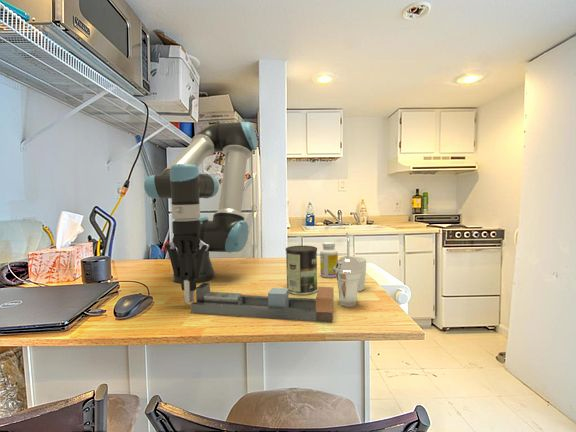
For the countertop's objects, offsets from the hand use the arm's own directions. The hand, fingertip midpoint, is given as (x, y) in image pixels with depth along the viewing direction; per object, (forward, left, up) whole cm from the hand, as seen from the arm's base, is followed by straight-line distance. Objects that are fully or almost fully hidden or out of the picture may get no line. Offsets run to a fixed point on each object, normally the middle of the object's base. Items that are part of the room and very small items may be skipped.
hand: (189, 301), depth 85 cm
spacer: (+26, 0, -2) cm, 26 cm away
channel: (+22, 0, -2) cm, 22 cm away
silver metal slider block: (+9, 0, -1) cm, 9 cm away
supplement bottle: (+38, +37, -2) cm, 53 cm away
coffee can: (+30, +19, -2) cm, 35 cm away
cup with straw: (+45, +9, -2) cm, 46 cm away
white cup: (+47, +23, -2) cm, 52 cm away
